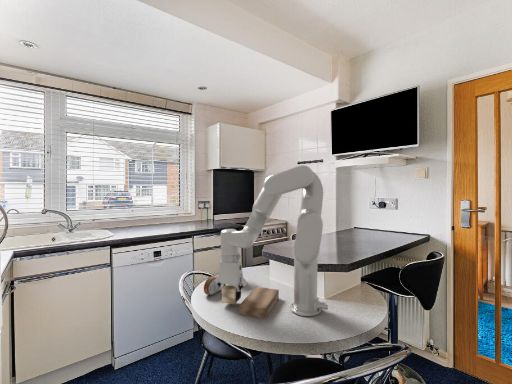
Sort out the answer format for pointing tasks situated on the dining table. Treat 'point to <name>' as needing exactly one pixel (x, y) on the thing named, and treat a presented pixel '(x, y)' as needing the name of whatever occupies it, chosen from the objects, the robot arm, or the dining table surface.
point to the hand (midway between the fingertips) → (231, 298)
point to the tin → (211, 285)
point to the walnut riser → (259, 302)
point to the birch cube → (229, 294)
